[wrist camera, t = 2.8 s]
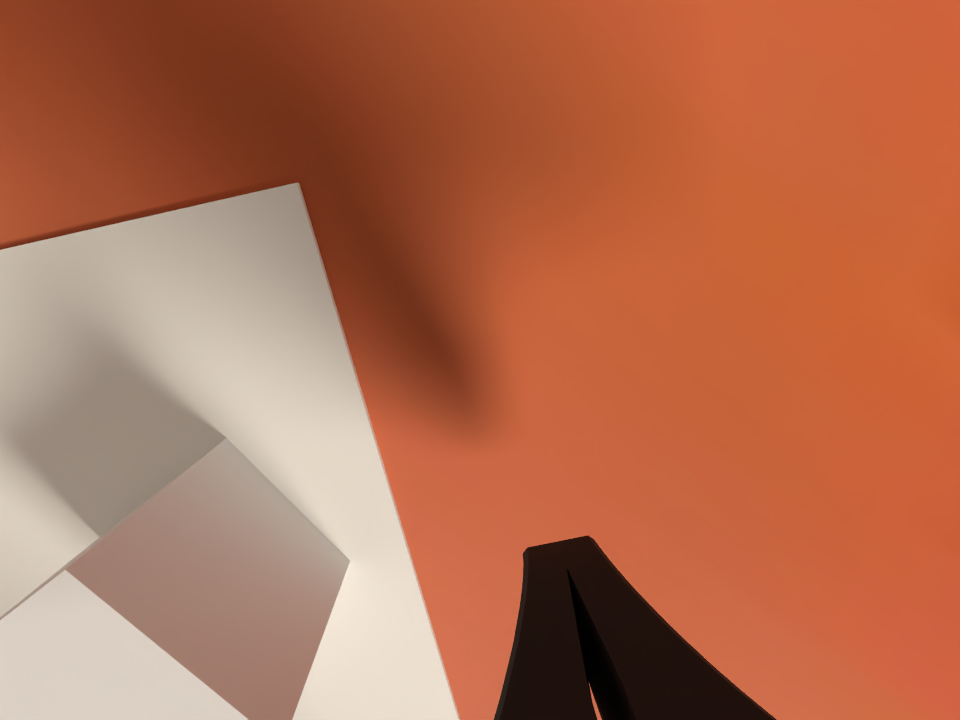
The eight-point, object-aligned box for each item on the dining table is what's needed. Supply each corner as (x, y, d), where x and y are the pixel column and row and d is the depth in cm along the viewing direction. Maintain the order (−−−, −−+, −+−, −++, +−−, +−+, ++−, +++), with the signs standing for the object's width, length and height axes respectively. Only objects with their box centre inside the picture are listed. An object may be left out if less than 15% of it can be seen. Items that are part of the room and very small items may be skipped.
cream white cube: (100, 536, 13) (-129, 718, 8) (227, 436, 12) (63, 568, 7) (228, 646, 14) (97, 867, 9) (351, 561, 13) (282, 748, 8)
